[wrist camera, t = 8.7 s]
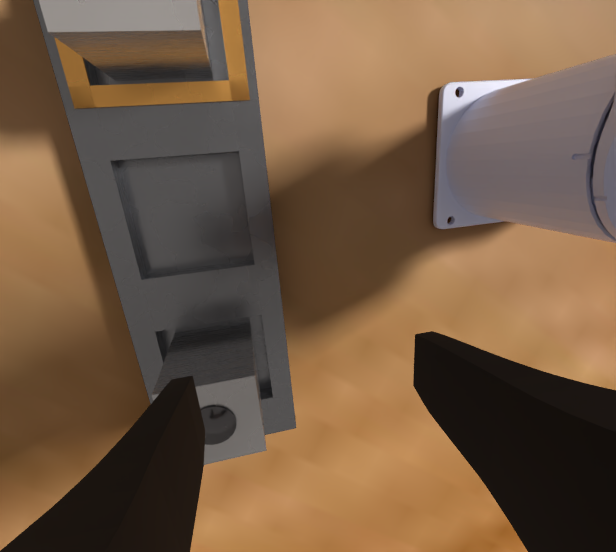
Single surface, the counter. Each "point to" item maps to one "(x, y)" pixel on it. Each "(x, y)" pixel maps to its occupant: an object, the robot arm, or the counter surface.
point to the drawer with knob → (134, 36)
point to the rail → (184, 199)
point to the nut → (220, 386)
